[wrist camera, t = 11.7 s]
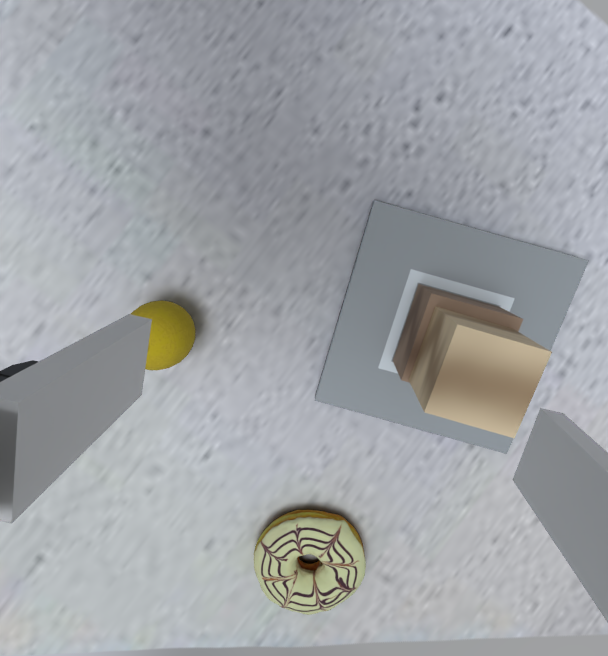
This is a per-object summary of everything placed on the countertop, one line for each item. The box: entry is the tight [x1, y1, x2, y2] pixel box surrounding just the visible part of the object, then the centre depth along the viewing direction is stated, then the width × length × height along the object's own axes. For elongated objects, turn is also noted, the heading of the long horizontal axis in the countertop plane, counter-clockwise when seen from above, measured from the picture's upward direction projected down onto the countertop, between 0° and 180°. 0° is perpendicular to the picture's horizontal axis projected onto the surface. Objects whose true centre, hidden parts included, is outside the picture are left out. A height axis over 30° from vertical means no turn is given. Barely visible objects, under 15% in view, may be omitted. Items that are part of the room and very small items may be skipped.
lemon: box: [131, 301, 195, 370], centre depth 38 cm, size 6×6×8 cm
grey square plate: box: [315, 200, 589, 454], centre depth 40 cm, size 18×18×1 cm
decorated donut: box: [254, 510, 366, 615], centre depth 44 cm, size 10×11×4 cm
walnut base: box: [393, 284, 523, 383], centre depth 37 cm, size 7×7×5 cm
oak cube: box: [409, 306, 552, 438], centre depth 31 cm, size 6×6×6 cm
